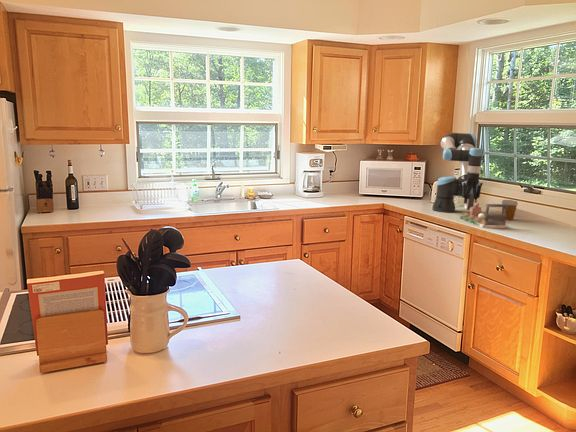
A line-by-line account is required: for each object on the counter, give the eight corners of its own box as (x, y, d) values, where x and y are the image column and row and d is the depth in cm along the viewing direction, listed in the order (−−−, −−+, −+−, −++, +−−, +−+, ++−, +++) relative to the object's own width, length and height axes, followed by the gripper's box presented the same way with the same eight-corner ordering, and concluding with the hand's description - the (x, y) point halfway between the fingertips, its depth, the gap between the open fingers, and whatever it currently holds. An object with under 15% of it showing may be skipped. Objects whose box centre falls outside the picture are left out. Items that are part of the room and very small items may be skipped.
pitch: (459, 218, 304) (462, 197, 301) (482, 218, 306) (485, 197, 303) (482, 227, 278) (485, 204, 276) (507, 227, 281) (510, 204, 278)
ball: (476, 219, 296) (477, 212, 295) (482, 219, 296) (483, 212, 295) (479, 220, 292) (480, 214, 291) (485, 220, 292) (486, 214, 292)
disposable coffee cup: (512, 218, 311) (514, 200, 309) (517, 221, 302) (520, 202, 299) (497, 217, 312) (499, 199, 310) (502, 220, 303) (504, 201, 300)
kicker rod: (463, 213, 309) (465, 193, 307) (471, 213, 310) (473, 193, 308) (472, 217, 299) (474, 196, 296) (480, 217, 300) (483, 196, 297)
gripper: (464, 172, 298) (460, 209, 303) (488, 173, 301) (484, 209, 305) (458, 171, 305) (454, 207, 310) (482, 172, 308) (478, 207, 313)
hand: (469, 208), depth 308 cm, fingers open, 4 cm apart
